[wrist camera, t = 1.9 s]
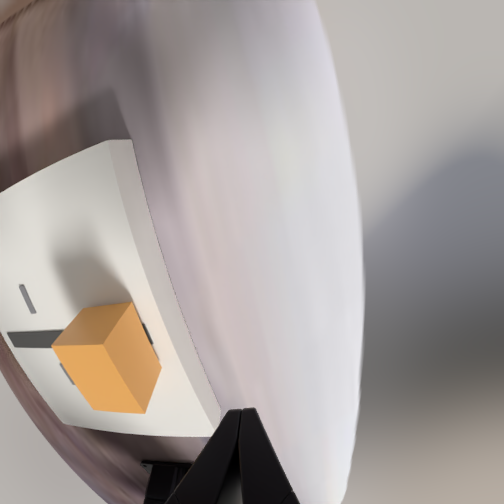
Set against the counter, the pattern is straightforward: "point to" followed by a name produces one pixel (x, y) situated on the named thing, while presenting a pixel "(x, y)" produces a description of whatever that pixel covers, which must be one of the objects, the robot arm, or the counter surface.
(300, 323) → the counter surface
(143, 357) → the fader knob
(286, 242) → the counter surface
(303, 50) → the counter surface
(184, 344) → the fader console
